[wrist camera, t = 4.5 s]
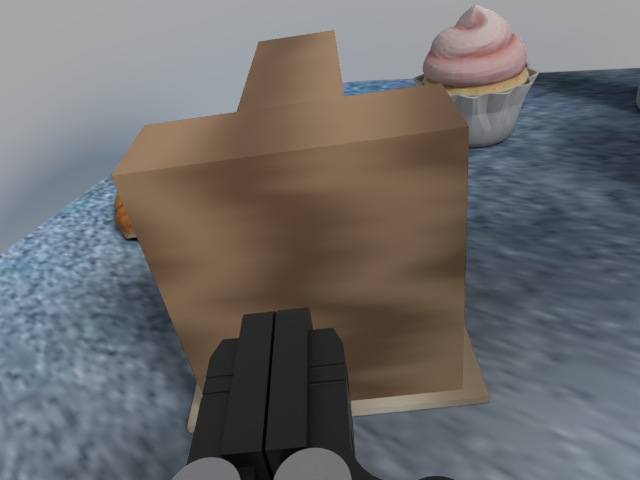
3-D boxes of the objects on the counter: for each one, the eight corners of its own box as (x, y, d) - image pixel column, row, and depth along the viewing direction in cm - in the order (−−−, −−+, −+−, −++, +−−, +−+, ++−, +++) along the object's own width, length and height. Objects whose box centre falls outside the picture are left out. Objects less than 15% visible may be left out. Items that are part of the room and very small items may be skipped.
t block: (410, 214, 34) (401, 20, 27) (462, 389, 22) (469, 126, 15) (244, 235, 34) (194, 51, 28) (211, 415, 23) (111, 175, 16)
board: (394, 125, 47) (394, 120, 46) (489, 402, 22) (489, 396, 22) (252, 144, 47) (251, 140, 47) (189, 432, 23) (186, 427, 23)
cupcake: (392, 143, 44) (384, 17, 38) (455, 104, 49) (456, -12, 43) (494, 169, 38) (502, 25, 32) (553, 122, 43) (570, -10, 37)
